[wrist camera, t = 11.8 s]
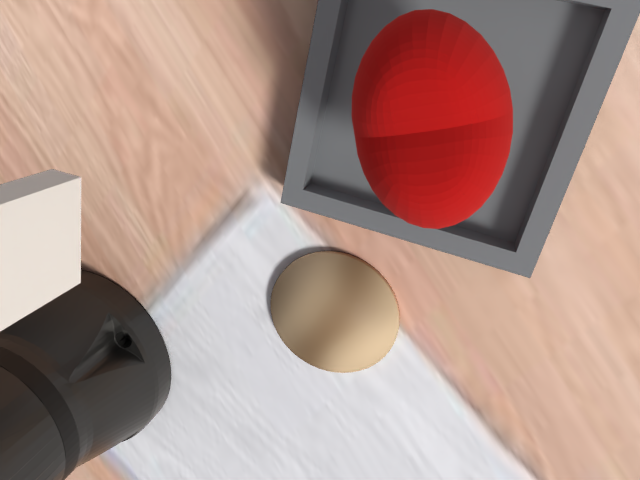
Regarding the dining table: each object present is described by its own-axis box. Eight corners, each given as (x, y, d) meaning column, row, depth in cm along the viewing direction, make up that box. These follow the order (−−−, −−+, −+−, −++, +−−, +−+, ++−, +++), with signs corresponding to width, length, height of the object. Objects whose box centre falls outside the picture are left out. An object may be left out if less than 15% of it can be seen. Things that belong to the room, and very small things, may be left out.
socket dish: (293, 192, 35) (280, 202, 32) (344, -68, 29) (332, -77, 26) (527, 261, 32) (530, 277, 30) (637, -10, 26) (650, -15, 24)
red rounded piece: (365, 31, 29) (314, 24, 20) (500, 3, 27) (509, -18, 18) (389, 195, 32) (352, 254, 23) (512, 182, 30) (527, 242, 21)
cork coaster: (263, 344, 39) (261, 347, 39) (285, 234, 36) (282, 236, 35) (381, 385, 38) (379, 390, 37) (415, 275, 34) (414, 278, 34)
